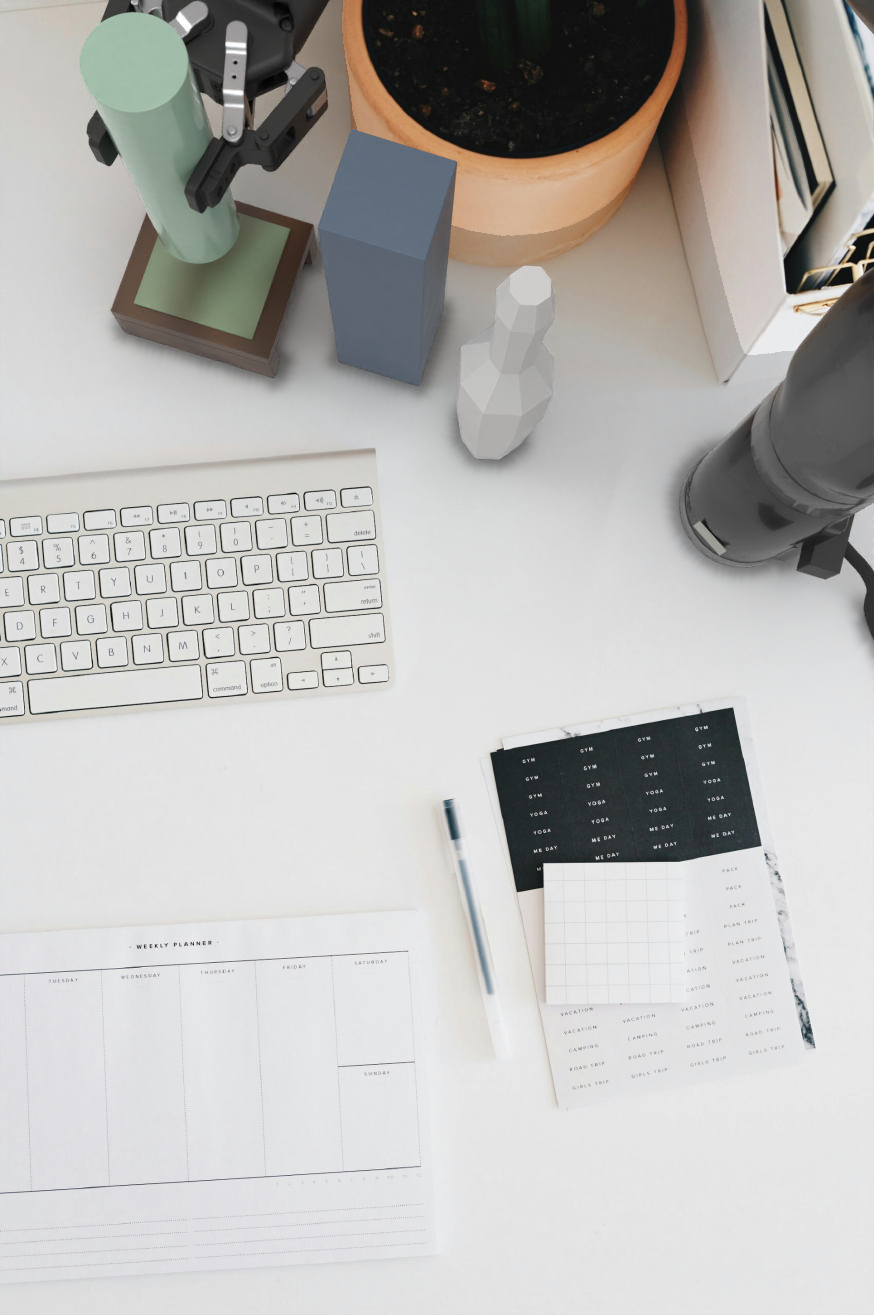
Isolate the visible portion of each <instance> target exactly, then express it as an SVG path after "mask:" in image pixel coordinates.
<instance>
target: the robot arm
mask: <svg viewBox="0 0 874 1315" xmlns="http://www.w3.org/2000/svg"><path fill="white" fill-rule="evenodd" d="M330 1H331V0H108V2H107V4H106V6H105V10H104V13H103V15H102V17H101V20H100V23H101V22H103V21H104V20H106V19H108V18H110V17H113V16H115V15H118V14H123V13H130V12H139V13H146V14H150V15H153V16H156V17H158V18H160V19H162V20H164V21H165V22H167V23H168V24H169V25H171V26H172V27H173V28H174V29H175V30H176V31H177V32H178V34H179V35H180V36H181V38H182V40H183V41H184V44H185V46H186V49H187V52H188V55H189V58H190V62H191V65H192V68H193V71H194V74H195V77H196V81H197V84H198V87H199V90H200V93H201V94H204V95H207V96H208V97H209V98H210V99H211V100H212V101H214V102H215V103H216V104H218V105H220V106H221V107H223V109H222V121H221V136H220V137H219V138H218V137H216V136H214V137H213V138H212V140H211V142H210V143H209V145H208V147H207V149H206V151H205V153H204V154H203V156H202V157H201V159H200V161H199V162H198V164H197V166H196V168H195V169H194V171H193V173H192V175H191V176H190V178H189V180H188V181H187V183H186V186H185V190H184V194H185V197H186V199H187V202H188V204H189V207H190V208H191V209H193V210H195V211H197V212H199V213H201V214H202V213H204V212H205V210H206V209H207V207H210V208H214V207H215V206H216V205H218V204H219V203H220V201H221V199H222V198H223V196H224V194H225V192H226V191H227V188H228V187H229V186H231V183H232V182H233V180H234V178H235V177H236V175H237V174H238V172H239V170H240V169H241V168H243V167H245V166H247V165H255V166H260V167H261V169H262V170H263V171H265V172H267V173H274V172H276V171H277V170H278V169H279V168H280V167H281V166H283V163H284V162H286V160H287V159H288V157H289V156H290V155H291V154H292V153H293V151H294V150H295V149H296V148H297V147H298V145H299V144H300V143H301V142H302V141H303V139H304V138H305V137H306V136H307V135H308V134H309V132H311V130H312V129H313V127H314V126H315V125H316V124H317V123H318V122H319V120H320V119H321V118H322V117H323V116H324V114H325V113H326V112H327V110H328V108H329V99H328V97H329V96H328V88H327V82H326V74H325V72H324V70H323V69H322V68H321V67H318V66H310V67H309V68H306V67H304V66H303V65H302V64H300V63H299V62H297V61H296V57H297V56H298V55H299V54H300V52H301V51H302V49H303V48H304V46H305V44H306V42H307V40H308V39H309V37H310V36H311V34H312V32H313V31H314V29H315V27H316V26H317V23H318V22H319V20H320V18H321V16H322V14H323V13H324V11H325V9H326V8H327V6H328V4H329V2H330ZM844 1H845V3H846V4H847V5H848V6H849V8H850V9H851V10H852V11H853V13H854V14H855V15H856V17H857V18H859V20H860V21H861V22H862V23H863V25H865V26H866V28H867V29H868V30H869V31H870V32H871V33H872V34H873V35H874V0H844ZM283 86H285V87H284V94H285V95H284V96H283V98H282V99H281V100H280V101H279V103H277V105H276V106H275V107H274V108H273V109H272V111H271V112H270V113H269V114H268V116H267V117H266V118H265V119H264V120H263V122H262V123H261V124H260V125H259V126H258V127H257V129H256V130H255V129H254V127H255V112H256V100H257V99H256V98H259V97H261V96H264V95H265V94H268V93H269V92H272V91H274V90H276V89H279V88H282V87H283ZM95 109H96V108H95ZM86 135H87V138H88V146H89V149H90V150H91V153H92V154H93V157H94V158H95V160H96V161H97V162H98V163H100V164H103V165H105V166H107V167H111V166H112V165H113V164H114V163H115V161H116V159H117V157H118V156H119V154H118V152H117V150H116V148H115V146H114V144H113V142H112V140H111V137H110V135H109V133H108V131H107V129H106V127H105V125H104V123H103V121H102V119H101V117H100V115H99V113H98V111H97V109H96V110H95V111H94V113H93V114H92V116H91V118H89V121H88V122H87V125H86ZM873 504H874V266H873V267H871V268H869V269H868V270H866V271H865V272H864V273H863V274H862V275H861V276H860V277H858V278H857V279H856V280H855V281H854V282H853V283H852V284H850V286H849V287H847V289H845V291H843V293H842V294H841V295H840V296H839V297H838V298H837V300H836V301H835V302H834V303H833V304H832V305H831V307H830V308H829V309H828V310H827V311H826V312H825V313H824V315H823V316H822V317H821V318H820V320H819V321H818V322H817V323H816V324H815V326H814V327H813V328H812V329H811V330H810V332H809V333H808V334H807V335H806V336H805V337H804V338H803V340H802V341H801V343H800V344H798V347H797V348H796V349H795V351H794V352H793V354H792V357H791V360H790V361H789V365H788V367H787V371H786V374H785V377H784V378H783V379H782V380H781V381H780V382H779V383H777V385H776V386H775V387H774V388H772V390H771V391H770V392H769V393H768V394H767V395H766V396H765V397H764V398H763V399H762V400H761V401H760V402H759V403H758V404H757V405H756V406H755V407H754V408H753V409H752V410H751V411H750V412H749V413H748V414H747V415H746V416H745V417H744V418H743V419H742V420H741V421H740V422H738V424H737V425H736V426H735V427H734V428H733V429H732V430H731V431H730V432H729V433H728V434H727V435H726V436H725V437H724V438H723V439H721V441H719V443H718V444H716V446H714V447H713V449H711V451H710V452H708V453H706V454H705V455H704V456H703V457H701V459H699V460H698V462H696V463H695V465H693V467H692V468H691V469H690V471H689V472H688V474H687V475H686V477H685V479H684V481H683V483H682V486H681V490H680V493H679V506H678V507H679V515H680V520H681V524H682V526H683V529H684V531H685V533H686V535H687V537H688V539H689V540H690V541H691V542H692V543H693V545H694V546H695V547H696V549H698V550H699V551H700V553H702V554H703V555H705V556H706V557H707V558H708V559H709V558H710V559H711V560H712V561H715V562H717V563H719V564H722V565H724V566H728V567H734V568H752V567H757V566H761V565H763V564H766V563H768V562H770V561H773V560H776V561H781V562H788V561H789V560H792V559H793V558H795V557H797V556H799V558H798V561H797V565H796V569H795V571H796V572H799V573H802V574H805V575H809V576H812V577H815V578H818V579H822V580H825V581H826V580H828V579H830V578H832V577H835V576H838V575H840V574H841V571H842V566H843V564H844V559H845V561H847V562H848V563H849V564H850V565H851V566H852V568H853V569H854V570H855V571H856V572H857V574H859V577H860V578H861V579H862V581H863V583H864V586H865V591H866V592H865V595H864V600H863V605H862V606H863V607H862V608H863V615H864V617H865V620H866V623H867V626H868V629H869V632H870V635H871V638H872V640H873V641H874V569H873V567H872V566H871V565H870V563H869V562H868V561H867V560H866V558H864V556H862V555H861V553H859V551H858V550H857V549H856V548H855V547H854V546H853V545H852V544H851V542H850V540H849V539H850V535H851V531H852V527H853V524H854V519H855V516H856V514H857V513H859V512H861V511H862V510H864V509H866V508H867V507H870V506H871V505H873Z"/></svg>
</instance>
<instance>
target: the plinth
mask: <svg viewBox="0 0 874 1315" xmlns="http://www.w3.org/2000/svg"><path fill="white" fill-rule="evenodd" d="M339 160H340V161H339V163H338V166H337V169H336V172H335V176H334V178H333V180H332V183H331V187H330V190H329V193H328V196H327V198H326V202H325V205H324V207H323V210H322V213H321V216H320V219H319V222H318V224H317V232H318V238H319V244H320V245H319V246H320V251H321V258H322V264H323V272H324V275H325V277H324V278H325V284H326V290H327V291H326V292H327V297H328V302H329V310H330V316H331V321H332V330H333V334H334V340H335V348H336V354H337V355H336V356H337V361H338V362H339V363H342V364H345V365H348V366H352V367H355V368H358V369H361V370H365V371H368V372H371V373H374V374H378V375H380V376H384V377H387V378H390V379H394V380H398V381H400V382H404V383H407V384H410V385H414V386H416V387H419V386H420V385H421V383H422V382H421V381H422V378H423V376H424V372H425V369H426V366H427V363H428V360H429V357H430V355H431V354H430V353H431V351H432V348H433V345H434V344H433V343H434V341H435V337H436V335H437V331H438V328H439V325H440V323H441V319H442V317H443V313H444V306H445V297H446V286H447V276H448V275H447V274H448V265H449V256H450V255H449V254H450V244H451V235H452V234H451V233H452V232H451V231H452V222H453V212H454V203H455V202H454V201H455V191H456V190H455V189H456V180H457V170H458V161H457V160H456V159H455V160H454V159H452V158H448V157H445V156H443V155H439V154H435V153H431V152H430V151H429V152H428V151H426V150H422V149H419V148H415V147H412V146H409V145H406V144H403V143H400V142H396V141H393V140H391V139H386V138H383V137H380V136H377V135H372V134H371V133H367V132H363V131H361V130H357V129H355V128H351V129H350V131H349V134H348V137H347V140H346V143H345V146H344V149H343V152H342V155H341V158H340V159H339Z"/></svg>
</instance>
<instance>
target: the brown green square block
mask: <svg viewBox="0 0 874 1315" xmlns="http://www.w3.org/2000/svg"><path fill="white" fill-rule="evenodd" d="M234 202H235V205H236V208H237V212H238V215H239V221H240V228H239V234H238V237H237V239H236V242H235V243H234V245H233V246H232V248H231V249H230V250H229V251H228V252H227V253H226V254H225V255H223V256H222V257H221V258H219V259H217V260H214V261H212V262H208V263H202V264H194V263H188V262H185V261H182V260H180V259H178V258H176V257H174V256H173V255H172V254H170V253H169V252H168V251H167V250H166V249H165V247H164V246H163V244H162V243H161V241H160V239H159V237H158V235H157V233H156V231H155V229H154V226H153V224H152V222H151V220H150V218H149V216H148V214H147V212H146V211H145V212H146V213H145V215H144V219H143V221H142V222H141V223H142V224H141V226H140V229H139V232H138V233H137V234H138V235H137V237H136V240H135V242H134V246H133V248H132V250H131V254H130V256H129V258H128V262H127V264H126V267H125V269H124V273H123V275H122V278H121V281H120V284H119V286H118V289H117V292H116V295H115V297H114V300H113V303H112V304H111V305H112V306H111V308H110V312H111V314H112V315H113V317H114V319H115V321H116V322H117V323H118V325H119V326H120V328H121V330H122V331H123V332H124V333H125V334H129V335H132V336H135V337H138V338H142V339H146V340H149V341H152V342H155V343H158V344H162V345H165V346H168V347H172V348H175V349H177V350H181V351H184V352H188V353H191V354H195V355H198V356H201V357H204V358H207V359H210V360H214V361H217V362H219V363H222V364H227V365H230V366H234V367H237V368H239V369H243V370H246V371H249V372H253V373H256V374H258V375H259V374H260V375H263V376H266V377H270V378H273V379H275V377H276V374H277V371H278V368H279V365H280V358H279V355H278V352H277V346H278V342H279V339H280V335H281V333H282V330H283V327H284V324H285V321H286V319H287V315H288V312H289V310H290V306H291V303H292V300H293V298H294V294H295V292H296V288H297V286H298V284H299V279H300V277H301V275H302V271H303V268H304V266H305V264H308V265H311V266H312V265H313V264H314V262H315V259H316V256H317V252H318V250H319V249H318V248H319V247H318V242H317V237H316V230H315V225H314V223H310V222H307V221H304V220H301V219H297V218H295V217H291V216H288V215H285V214H281V213H279V212H275V211H272V210H269V209H265V208H262V207H259V206H255V205H253V204H249V203H246V202H242V201H239V200H236V199H234Z"/></svg>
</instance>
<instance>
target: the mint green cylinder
mask: <svg viewBox="0 0 874 1315" xmlns="http://www.w3.org/2000/svg"><path fill="white" fill-rule="evenodd" d="M79 70H80V71H79V72H80V75H81V79H82V81H83V83H84V86H85V88H86V90H87V92H88V94H89V96H90V99H91V100H92V102H93V105H94V106H95V109H97V111H98V113H99V115H100V117H101V119H102V121H103V123H104V125H105V127H106V129H107V131H108V133H109V135H110V137H111V140H112V142H113V144H114V146H115V148H116V150H117V152H118V156H119V158H120V160H121V163H122V164H123V167H124V169H125V171H126V173H127V175H128V177H129V179H130V181H131V183H132V186H133V187H134V189H135V191H136V193H137V196H138V197H139V199H140V203H141V204H142V205H143V208H144V210H145V212H147V214H148V216H149V218H150V220H151V222H152V224H153V226H154V229H155V231H156V233H157V235H158V237H159V239H160V241H161V243H162V244H163V246H164V247H165V249H166V250H167V251H168V252H169V253H170V254H172V255H173V256H174V257H176V258H178V259H180V260H182V261H185V262H188V263H194V264H202V263H208V262H212V261H214V260H217V259H219V258H221V257H222V256H223V255H225V254H226V253H227V252H228V251H229V250H230V249H231V248H232V246H233V245H234V243H235V242H236V239H237V237H238V234H239V228H240V221H239V215H238V212H237V208H236V205H235V202H234V200H235V199H234V196H233V193H232V189H231V187H230V186H231V185H229V187H228V188H227V191H226V192H225V194H224V196H223V198H222V199H221V201H220V203H219V204H218V205H216V206H215V207H214V208H210V207H207V209H206V210H205V212H204V213H202V214H201V213H199V212H197V211H195V210H193V209H191V208H190V207H189V204H188V202H187V199H186V197H185V194H184V190H185V186H186V183H187V181H188V180H189V178H190V176H191V175H192V173H193V171H194V169H195V168H196V166H197V164H198V162H199V161H200V159H201V157H202V156H203V154H204V153H205V151H206V149H207V147H208V145H209V143H210V142H211V140H212V138H213V137H215V135H214V133H213V132H214V131H213V128H212V126H211V123H210V119H209V116H208V113H207V109H206V106H205V104H204V100H203V97H202V93H200V90H199V87H198V84H197V81H196V77H195V74H194V71H193V68H192V65H191V62H190V58H189V55H188V52H187V49H186V46H185V44H184V41H183V40H182V38H181V36H180V35H179V34H178V32H177V31H176V30H175V29H174V28H173V27H172V26H171V25H169V24H168V23H167V22H165V21H164V20H162V19H160V18H158V17H156V16H153V15H150V14H146V13H139V12H130V13H123V14H118V15H115V16H113V17H110V18H108V19H106V20H104V21H103V22H101V21H100V22H99V23H98V25H96V26H95V27H94V28H93V29H92V30H91V31H90V33H89V34H88V35H87V37H86V38H85V40H84V42H83V44H82V48H81V50H80V55H79Z"/></svg>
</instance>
